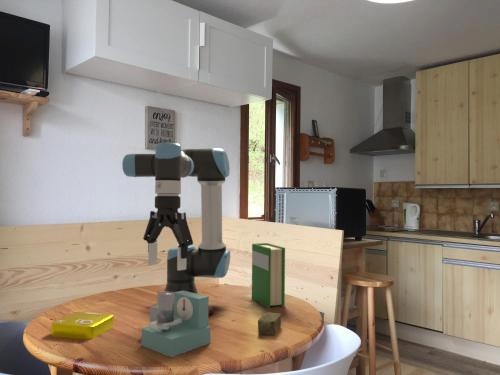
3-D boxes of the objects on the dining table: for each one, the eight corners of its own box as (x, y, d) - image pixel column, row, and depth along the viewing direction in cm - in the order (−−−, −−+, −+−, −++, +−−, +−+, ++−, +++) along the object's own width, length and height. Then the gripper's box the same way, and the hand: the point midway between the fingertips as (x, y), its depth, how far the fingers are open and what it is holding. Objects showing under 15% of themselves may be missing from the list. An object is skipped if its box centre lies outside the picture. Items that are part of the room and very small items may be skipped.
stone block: (256, 335, 135) (256, 319, 135) (265, 325, 146) (265, 310, 146) (274, 337, 133) (274, 321, 133) (281, 326, 144) (281, 312, 144)
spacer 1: (158, 328, 140) (158, 304, 141) (167, 331, 137) (168, 306, 137) (146, 331, 137) (146, 307, 137) (155, 335, 133) (155, 310, 134)
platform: (173, 325, 127) (173, 315, 127) (182, 328, 124) (182, 318, 124) (149, 332, 120) (149, 322, 120) (157, 336, 118) (157, 325, 118)
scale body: (180, 333, 135) (180, 290, 136) (210, 343, 126) (210, 297, 127) (141, 345, 124) (142, 298, 124) (171, 357, 115) (172, 306, 115)
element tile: (115, 326, 143) (116, 312, 143) (90, 341, 128) (90, 325, 128) (77, 323, 146) (77, 309, 146) (47, 337, 131) (48, 322, 131)
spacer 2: (167, 317, 126) (167, 290, 126) (177, 320, 123) (178, 293, 123) (153, 320, 122) (154, 293, 122) (164, 324, 119) (164, 296, 119)
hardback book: (284, 306, 170) (285, 247, 170) (268, 308, 167) (268, 248, 168) (266, 296, 186) (267, 243, 187) (251, 297, 184) (252, 243, 184)
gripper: (132, 194, 128) (131, 263, 128) (185, 195, 112) (184, 274, 112) (152, 195, 134) (151, 260, 134) (206, 195, 118) (205, 270, 117)
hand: (166, 267), depth 123 cm, fingers open, 13 cm apart
